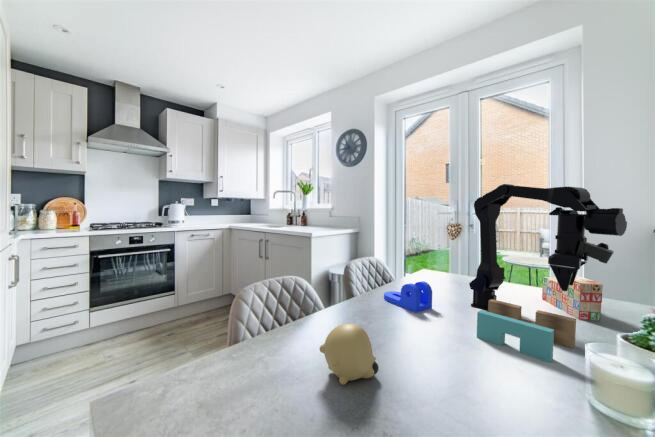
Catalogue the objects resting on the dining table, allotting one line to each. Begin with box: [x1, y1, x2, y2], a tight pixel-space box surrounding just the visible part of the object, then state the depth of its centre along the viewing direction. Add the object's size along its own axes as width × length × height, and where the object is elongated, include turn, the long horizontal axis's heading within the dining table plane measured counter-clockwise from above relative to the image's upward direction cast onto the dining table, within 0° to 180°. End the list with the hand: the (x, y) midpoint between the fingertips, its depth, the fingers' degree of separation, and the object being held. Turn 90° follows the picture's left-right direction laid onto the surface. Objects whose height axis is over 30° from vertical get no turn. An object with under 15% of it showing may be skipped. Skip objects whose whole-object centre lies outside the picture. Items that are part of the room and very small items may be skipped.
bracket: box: [383, 280, 433, 314], centre depth 103 cm, size 18×8×9 cm, turn 31°
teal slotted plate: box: [476, 309, 555, 363], centre depth 70 cm, size 16×2×7 cm, turn 40°
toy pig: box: [319, 323, 380, 386], centre depth 57 cm, size 10×12×11 cm
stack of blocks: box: [541, 275, 604, 322], centre depth 99 cm, size 21×6×12 cm, turn 169°
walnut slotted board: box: [487, 299, 577, 349], centre depth 79 cm, size 20×2×7 cm, turn 40°
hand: (567, 287), depth 78 cm, fingers open, 9 cm apart
